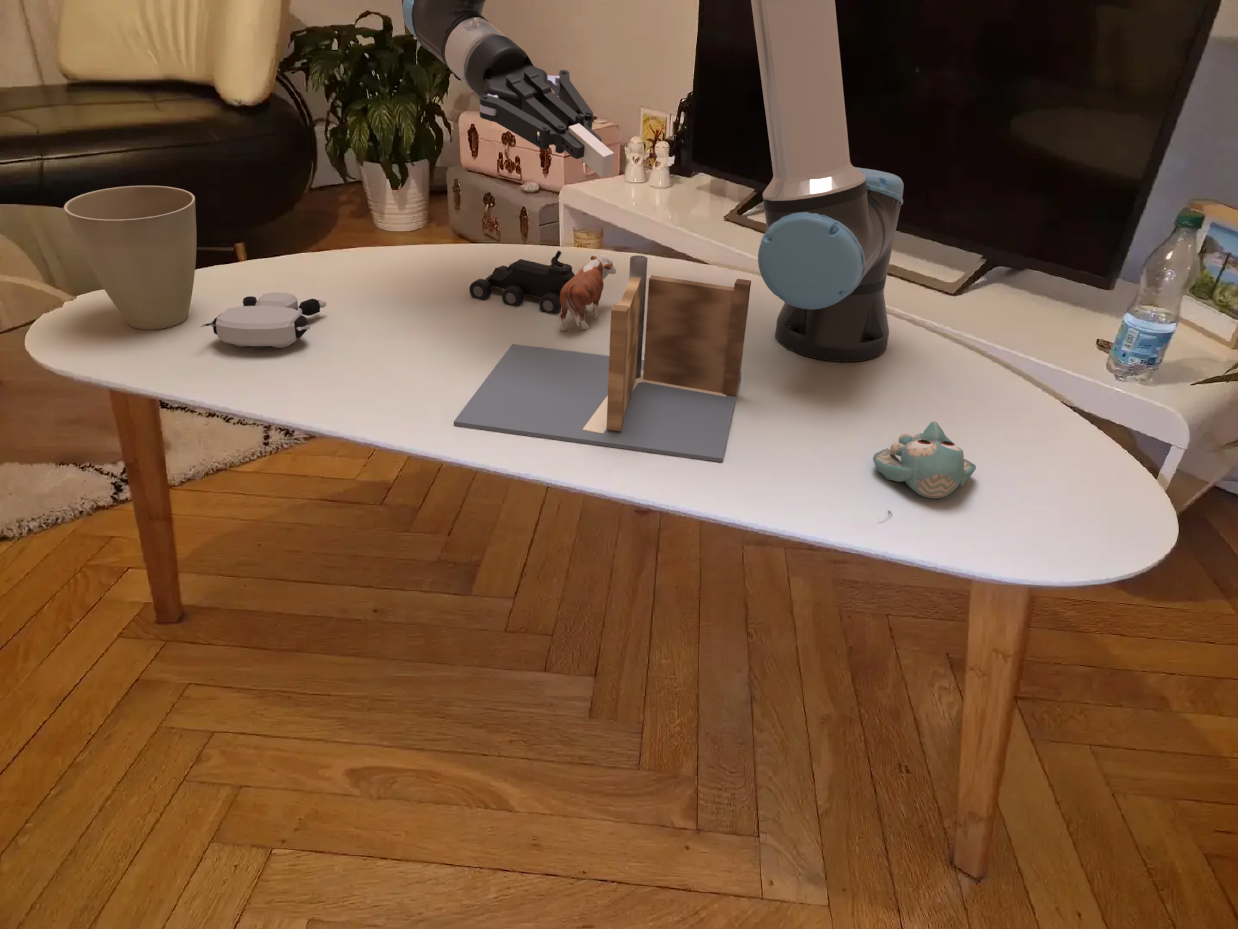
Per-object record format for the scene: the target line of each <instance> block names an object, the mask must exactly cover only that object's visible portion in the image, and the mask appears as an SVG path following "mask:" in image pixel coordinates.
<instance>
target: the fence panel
mask: <svg viewBox="0 0 1238 929" xmlns="http://www.w3.org/2000/svg"><path fill="white" fill-rule="evenodd" d="M640 296H641V277H633V276H631V278H630V280H629V279H628V282H627V284H626V287H625V289H624V291H623V294H622V296H621V299H620V301H619V302H618V304H613V305H612V307H611V309H610V328H609V330H610V332H609V355H608V356H609V377H608V403H607V430H615V431H621V429H622V426H623V417H624V414H625V411H626V408H627V405H628V402H629V399H630V396H631V393H632V390H633V387H634V384H635V381H636V368H637V350H638V332H639V314H640Z"/></svg>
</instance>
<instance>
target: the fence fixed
mask: <svg viewBox="0 0 1238 929" xmlns="http://www.w3.org/2000/svg"><path fill="white" fill-rule="evenodd" d="M629 258H630V259H629V278H628V281H629V280H630V278H631V276H633V277H641V296H640V314H639V332H638V350H637V368H636V379H637V378H640V377H641V363H642V360H644V370H643V379H644V380H649V381H655V382H660V383H666V384H672V385H678V386H683V387H689V388H695V389H700V390H706V391H712V392H718V393H722V394H725V395H727V396H733V397H736V398H737V396H738V393H739V389H740V388H739V386H740V382H739V380H740V381H741V377H740V372H742V371H741V370H742V360H743V353H744V345H745V336H746V328H747V322H748V321H747V319H748V312H749V301H750V294H751V286H752V280H749V279H745V278H744V279H742V278H737V279H736V280H735V282H734V286H728V285H721V284H715V283H708V282H700V281H694V280H686V279H680V278H675V277H667V276H660V275H653V274H652V275H650V277H649V278H648V287H647V274H648V273H647V272H648V257H646V256H645V255H632V256H630V257H629ZM647 288H648V289H647ZM646 290H647V293H646ZM646 295H647V307H646ZM646 309H647V310H646ZM645 310H646V311H645ZM645 312H646V320H645ZM645 323H646V324H645ZM644 324H645V325H644ZM644 328H645V337H644ZM643 341H644V342H643ZM643 343H644V346H643ZM643 347H644V356H643ZM643 357H644V359H643ZM736 395H737V396H736Z"/></svg>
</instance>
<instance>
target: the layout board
mask: <svg viewBox="0 0 1238 929" xmlns="http://www.w3.org/2000/svg"><path fill="white" fill-rule="evenodd" d="M643 370H644V359H642V363H641V377H640V378H637V379H636V381H635V384H634V387H633V390H632V393H631V396H630V399H629V402H628V405H627V408H626V411H625V414H624V417H623V426H622V429H621V431H615V430H607V403H608V377H609V355H606V354H597V353H590V352H581V351H574V350H572V351H571V350H566V349H558V348H557V349H556V348H549V347H541V346H534V345H532V346H531V345H523V344H515V343H512V344H510V346H509V348H508V349H507V350H506V352H504V354H503V356H502V357H501V358H500V359H499V360H498V362H497V364H496V365H495V366H494V368H493V369H492V370H491V372H490V373H489V374H488V375H487V377H486V378H485V379H484V380H483V382H482V383H481V385H480V386H479V387H478V389H477V390H476V391H475V392H474V394H473V395H472V397H471V398H470V399H469V401H468V402H466V404H465V406H464V407H463V408H462V409H461V411H460V412H459V414H458V415H457V416H456V418H455V419H454V421H453V426H455V427H462V428H468V429H469V428H471V429H476V430H485V431H491V432H497V433H506V434H511V435H513V434H514V435H521V436H526V437H527V436H528V437H534V438H535V437H536V438H542V439H549V440H550V439H551V440H557V441H564V442H570V443H578V444H586V445H593V446H599V447H600V446H601V447H606V446H607V447H608V448H614V449H615V448H616V449H621V448H624V449H623V450H628V449H630V451H635V450H637V451H636V452H643V451H644V452H645V453H650V452H652V454H658V455H664V454H667V455H666V456H672V455H675V456H674V457H679V456H681V458H686V457H689V458H688V459H693V458H694V459H695V460H701V461H708V460H710V462H715V461H716V462H717V463H723V462H722V461H724V456H725V452H726V447H727V443H728V437H729V432H730V429H731V423H732V418H733V416H734V415H733V414H734V411H735V405H736V400H737V396H738V394H737V395H736V397H733V396H727V395H725V394H722V393H718V392H712V391H706V390H700V389H695V388H689V387H683V386H678V385H672V384H666V383H660V382H655V381H649V380H644V379H643ZM741 376H742V371H740V378H741ZM740 381H741V379H740V380H739V383H740ZM644 452H643V453H644Z"/></svg>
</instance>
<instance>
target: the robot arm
mask: <svg viewBox="0 0 1238 929" xmlns="http://www.w3.org/2000/svg"><path fill="white" fill-rule="evenodd" d="M485 2H486V0H403V2H402V8H401V9H402V10H401V11H402V14H401V15H402V19H403V22H404V25H405V26H406V28H407V29H408V31H409V32H410V33H411V34H412V35H413V37H415V39H416V40H417V42H418V44H420V45H421V46H422V47H423V48H424V50H425V49H426V50H427V51H428V52H430V53H431V54H433V55H434V56H435V57H436V58H437V59H438V60H440V61H441V62H442V63H443V64H445V65H446V67H447V68H448V69H450V70H449V71H451V72H452V73H453V74H455V76H456V77H458V78H459V79H460V80H461V81H462V83H464V84H465V85H467V86H468V87H469V89H470V90H472V91H473V92H474V93H475V94H477V95H478V96H479V117H480V118H481V119H483V120H487V121H490V122H492V123H493V122H494V123H496V124H498V125H500V126H501V127H503V128H505V129H506V130H508V131H510V132H512V133H514V135H517V136H518V137H520V138H522V139H524V140H525V141H528V142H529V143H531V144H532V145H534V146H536V147H538V148H540V149H542V150H547V149H548V150H549V148H550V146H555V150H554V152H555V153H557V154H563V153H565V152H566V153H567V154H569V155H570V156H571V157H572V158H573V159H576V160H578V159H580V160H581V162H583V163H584V164H585V165H586V166H587V167H589V168H590V169H591V170H592V171H593V172H594V173H595V174H597V175H598V177H600V178H603V177H606V176H609V175H612V172H613V164H614V163H613V162H614V156H615V152H614V151H612V150H611V149H610V148H609V147H607V146H606V145H605V144H604V143H603V142H602V141H603V140H602V138H601V136H599V135H598V134H597V133H596V132H595V131H594V130H593V123H594V122H593V120H594V111H592V109H591V108H590V106H589V105H588V104H587V102H586V101H585V99H584V98H583V97H582V95H581V93H580V92H579V91H578V90H577V88H576V87H575V86H574V84H573V82H572V81H571V79H570V78H571V77H570V72H569V71H568V70H567V69H561V70H559V71H558V75H548V74H547V72H546V71H545V70H544V69H541V68H539V67H536V66H535V65H534V64H533V62H532V61H531V59H530V57H529V55H528V54H527V53H526V51H525V50H524V49H522V48H521V46H519V45H518V44H517V43H515V42H514V41H513V40H511V38H509V37H507V36H506V35H505V34H504V33H503V32H502V31H500V30H499V29H498V28H497V27H495V26H494V25H493V24H492V23H490V21H489V20H488V19H486V18H485V16H483V9H484V6H485ZM750 3H751V10H752V16H753V18H752V19H753V26H754V33H755V41H756V47H757V48H756V49H757V56H758V64H759V71H760V72H759V73H760V80H761V88H762V95H763V96H762V97H763V104H764V111H765V112H764V113H765V118H766V126H767V134H768V141H769V152H770V159H771V167H772V175H773V177H772V179H771V181H770V182H769V184H768V185H767V186H766V188H765V189H764V191H763V192H762V201H763V208H764V217H765V223H766V225H765V226H766V231H765V233H764V234H763V235H762V238H761V241H760V244H759V247H758V253H757V263H758V269H759V272H760V275H761V278H762V281H763V282H764V283H765V286H766V287H767V288H768V290H770V291H771V293H772V294H773V295H775V296H776V297H777V298H779V299H780V300H781V301H783V302H784V303H783V305H782V308H781V310H780V311H779V313H778V316H777V319H776V325H775V334H774V335H775V337H776V339H777V341H778V342H779V343H780V344H781V345H783V347H785V348H787V349H788V350H791V351H792V352H795V353H798V354H800V355H803V356H806V357H810V358H814V359H817V360H823V361H824V360H825V361H829V362H830V361H831V362H845V363H846V362H847V363H848V362H850V363H851V362H860V361H861V362H863V361H868V360H870V359H875V358H877V357H879V356H881V355H882V354H883V353H884V352H885V351H886V350H887V345H888V339H889V336H890V328H889V320H888V315H887V314H888V313H887V308H886V307H887V306H886V298H885V288H886V287H885V286H886V281H887V277H888V271H889V268H890V267H889V266H890V260H891V257H892V256H891V255H892V250H893V246H894V241H895V237H896V236H895V235H896V230H897V226H898V221H899V215H900V211H901V206H902V205H903V204H904V199H903V195H904V186H905V184H904V182H903V180H902V178H901V177H900V176H898V175H896V174H895V173H890V172H887V171H886V172H885V171H881V170H877V169H870V168H865V167H863V168H862V167H856V166H854V165H852V162H851V159H850V158H851V157H850V147H849V138H848V137H849V136H848V125H847V116H846V105H845V96H844V95H845V94H844V84H843V74H842V73H843V72H842V62H841V51H840V42H839V30H838V21H837V10H836V1H835V0H750ZM538 132H539V133H538Z"/></svg>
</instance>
